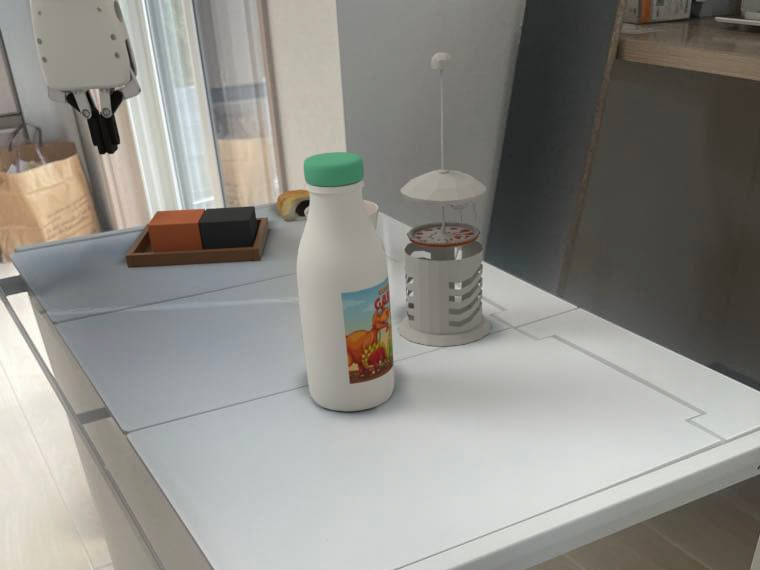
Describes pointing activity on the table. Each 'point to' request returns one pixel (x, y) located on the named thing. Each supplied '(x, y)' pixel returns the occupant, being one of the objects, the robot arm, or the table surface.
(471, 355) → the table surface
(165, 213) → the orange block
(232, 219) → the seated pad
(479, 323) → the french press
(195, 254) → the tray
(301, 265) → the milk bottle
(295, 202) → the pastry
